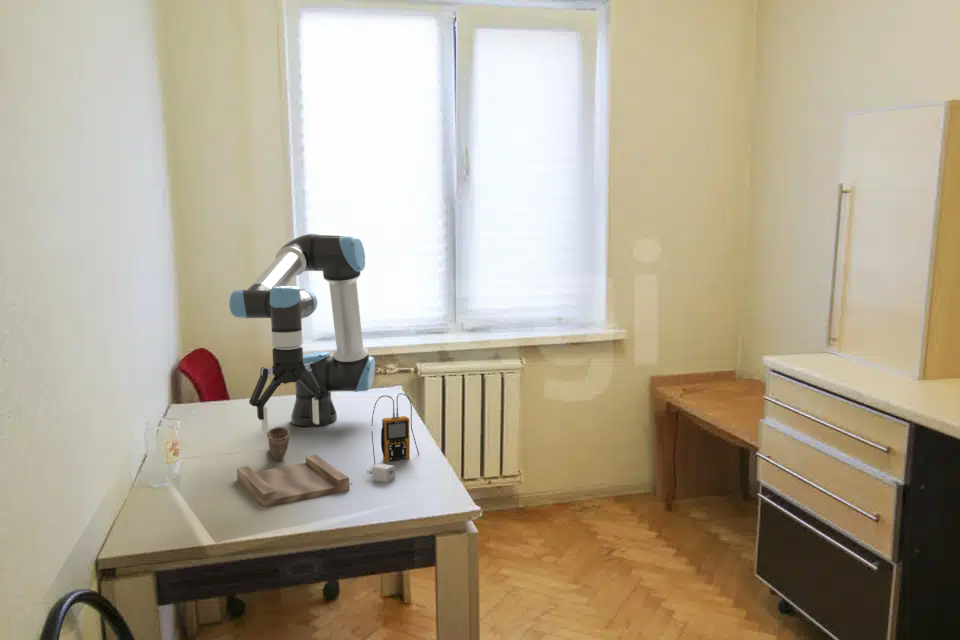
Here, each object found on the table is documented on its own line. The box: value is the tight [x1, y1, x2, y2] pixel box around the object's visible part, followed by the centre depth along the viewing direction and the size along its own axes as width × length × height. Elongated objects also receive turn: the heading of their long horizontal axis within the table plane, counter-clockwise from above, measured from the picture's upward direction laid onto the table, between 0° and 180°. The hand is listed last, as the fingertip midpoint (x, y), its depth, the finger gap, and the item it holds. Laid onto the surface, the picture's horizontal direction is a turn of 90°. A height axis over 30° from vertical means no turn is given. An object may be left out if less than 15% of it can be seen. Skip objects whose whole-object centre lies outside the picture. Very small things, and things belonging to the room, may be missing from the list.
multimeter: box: [371, 393, 420, 465], centre depth 214 cm, size 15×10×20 cm
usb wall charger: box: [366, 463, 396, 484], centre depth 204 cm, size 4×7×4 cm, turn 62°
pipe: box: [266, 426, 291, 462], centre depth 223 cm, size 6×17×10 cm, turn 20°
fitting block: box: [236, 454, 351, 508], centre depth 200 cm, size 22×24×3 cm
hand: (291, 427), depth 198 cm, fingers open, 13 cm apart
